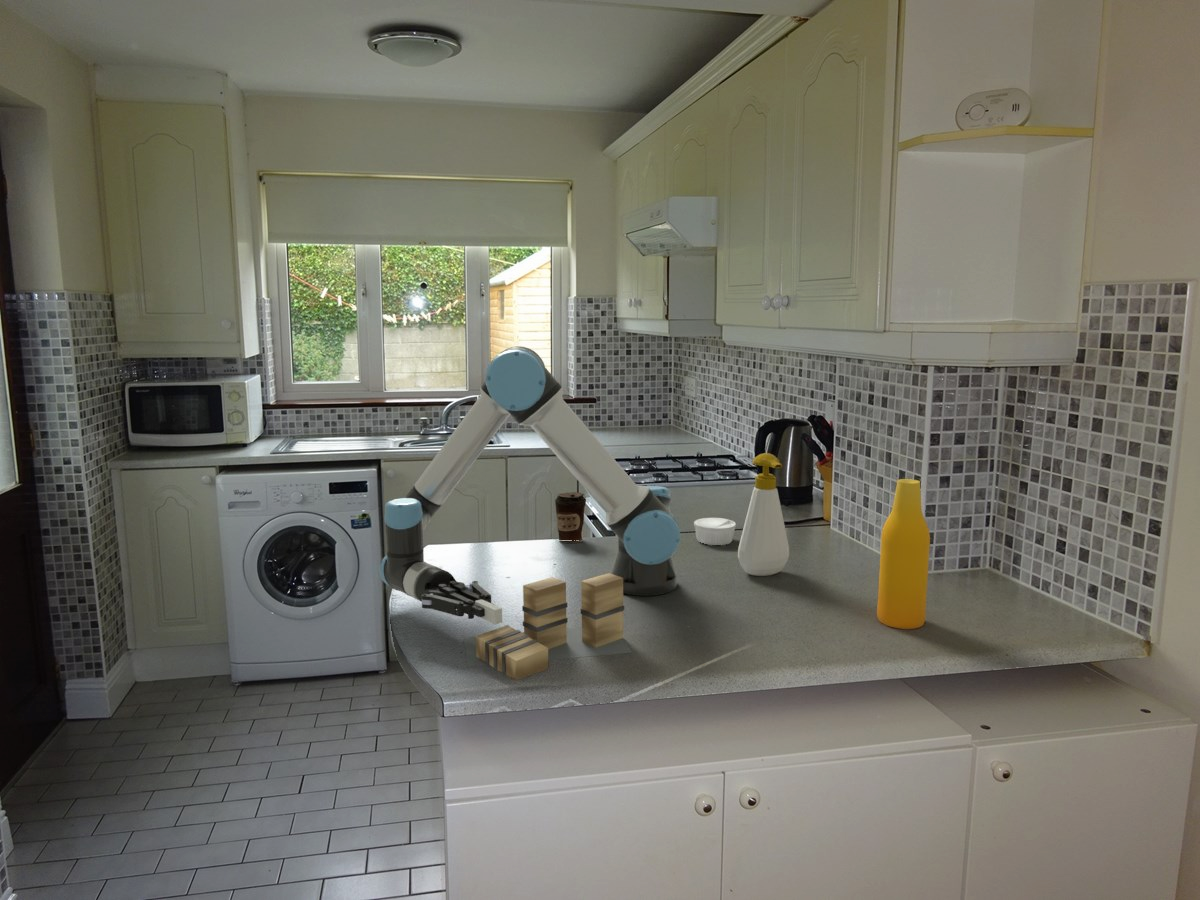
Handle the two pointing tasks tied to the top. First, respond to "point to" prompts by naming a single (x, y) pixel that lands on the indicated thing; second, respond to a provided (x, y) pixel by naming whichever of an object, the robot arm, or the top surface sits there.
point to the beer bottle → (904, 560)
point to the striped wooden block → (511, 652)
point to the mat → (558, 648)
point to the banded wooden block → (602, 609)
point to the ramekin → (714, 531)
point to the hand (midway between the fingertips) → (498, 616)
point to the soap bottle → (764, 525)
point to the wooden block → (545, 612)
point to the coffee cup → (570, 516)
